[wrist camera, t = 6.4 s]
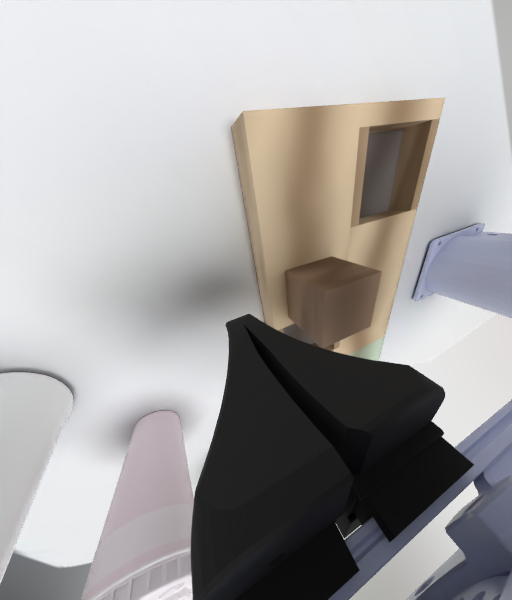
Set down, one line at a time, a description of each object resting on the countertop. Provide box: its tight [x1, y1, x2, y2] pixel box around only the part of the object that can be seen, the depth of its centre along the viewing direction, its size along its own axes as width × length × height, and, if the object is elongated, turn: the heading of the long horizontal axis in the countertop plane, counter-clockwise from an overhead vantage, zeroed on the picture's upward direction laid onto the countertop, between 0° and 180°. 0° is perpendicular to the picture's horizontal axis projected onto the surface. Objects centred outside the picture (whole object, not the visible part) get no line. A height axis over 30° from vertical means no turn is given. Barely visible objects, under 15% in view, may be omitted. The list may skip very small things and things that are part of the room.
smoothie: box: [81, 410, 194, 600], centre depth 11 cm, size 6×6×14 cm
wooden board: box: [231, 98, 445, 361], centre depth 17 cm, size 14×28×4 cm, turn 10°
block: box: [285, 256, 382, 348], centre depth 13 cm, size 4×4×4 cm
